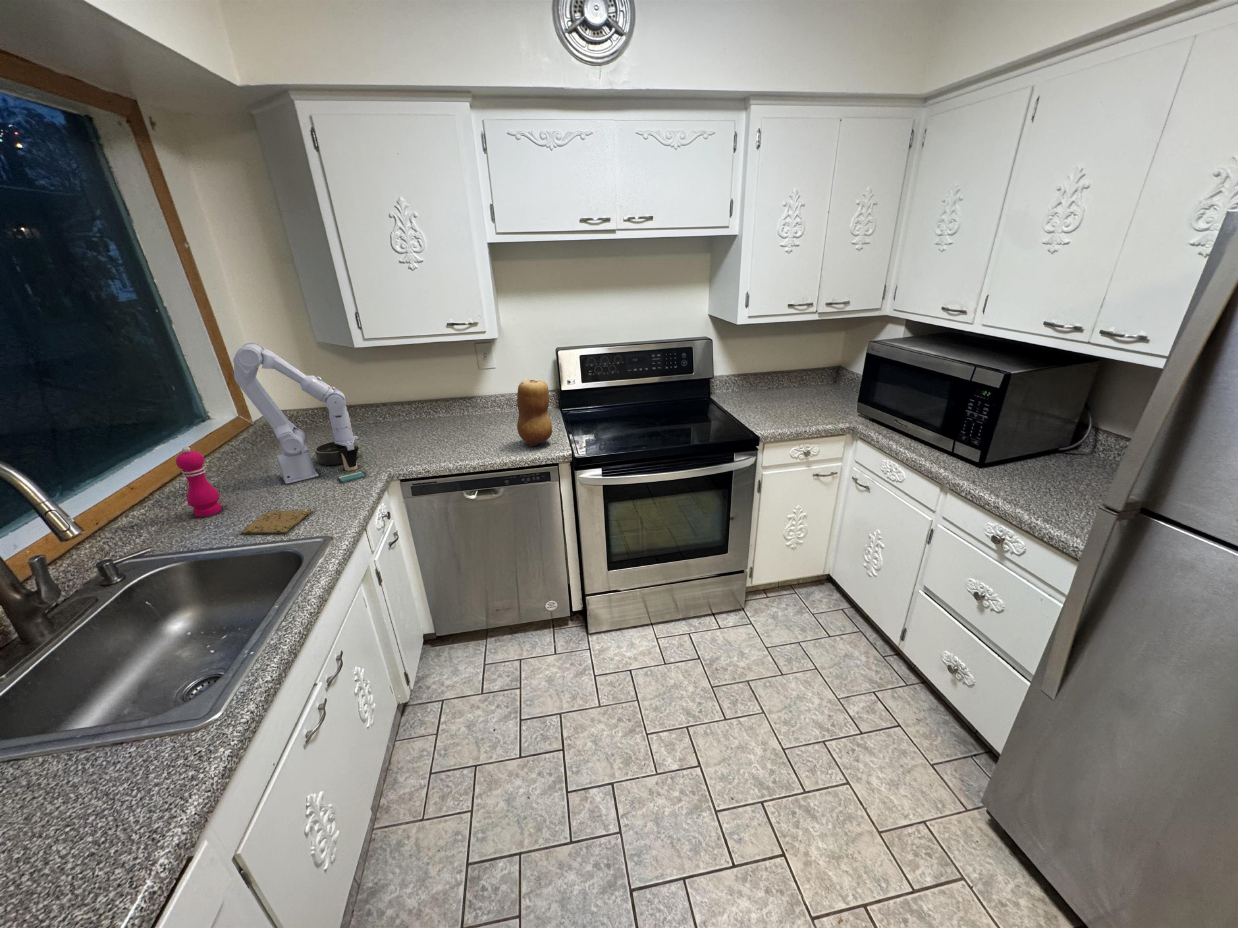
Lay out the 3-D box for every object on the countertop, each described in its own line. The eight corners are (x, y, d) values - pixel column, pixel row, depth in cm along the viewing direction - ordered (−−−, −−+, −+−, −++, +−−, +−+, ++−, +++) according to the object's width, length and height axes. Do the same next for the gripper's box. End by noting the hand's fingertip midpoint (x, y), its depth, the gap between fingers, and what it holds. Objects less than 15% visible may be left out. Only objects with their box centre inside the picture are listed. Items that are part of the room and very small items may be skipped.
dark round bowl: (322, 469, 174) (319, 455, 172) (314, 458, 183) (310, 445, 181) (363, 459, 181) (360, 446, 180) (353, 450, 191) (350, 437, 189)
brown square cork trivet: (312, 512, 144) (311, 509, 143) (286, 533, 133) (285, 530, 132) (270, 512, 144) (269, 509, 143) (240, 533, 133) (239, 530, 132)
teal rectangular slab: (342, 482, 163) (341, 481, 163) (338, 478, 166) (337, 476, 166) (365, 477, 167) (364, 475, 167) (360, 472, 171) (360, 470, 170)
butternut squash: (556, 447, 192) (553, 382, 182) (521, 452, 187) (516, 386, 178) (547, 436, 204) (543, 375, 194) (514, 440, 199) (509, 378, 190)
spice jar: (346, 471, 171) (341, 452, 169) (343, 468, 174) (338, 449, 172) (359, 468, 174) (355, 449, 171) (356, 465, 177) (351, 446, 174)
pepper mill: (219, 504, 149) (197, 440, 142) (227, 511, 145) (205, 446, 138) (189, 513, 144) (165, 447, 137) (196, 520, 140) (171, 453, 132)
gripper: (360, 429, 165) (368, 467, 171) (348, 419, 176) (356, 455, 181) (337, 433, 161) (346, 472, 166) (326, 423, 171) (335, 460, 177)
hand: (350, 464), depth 173 cm, fingers open, 5 cm apart
